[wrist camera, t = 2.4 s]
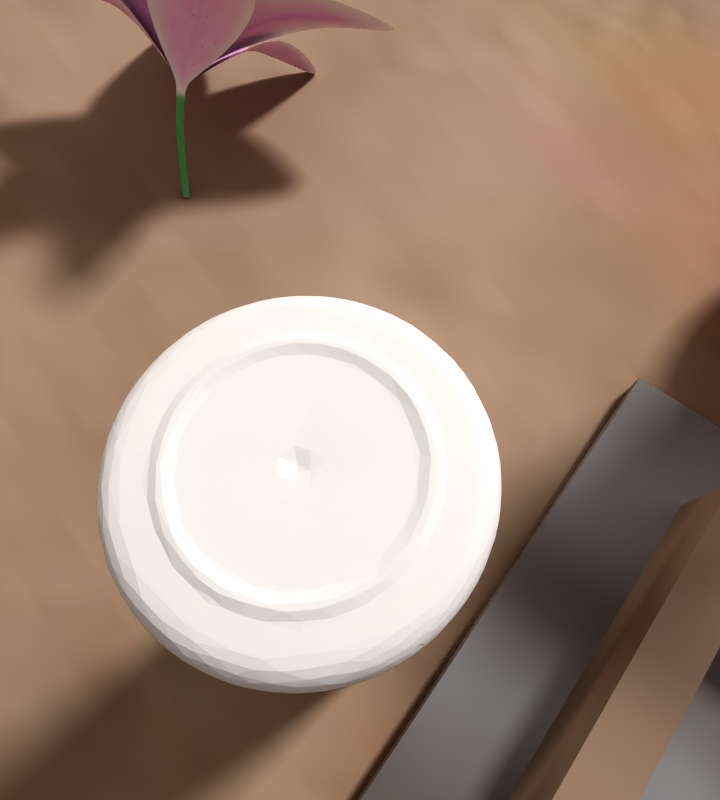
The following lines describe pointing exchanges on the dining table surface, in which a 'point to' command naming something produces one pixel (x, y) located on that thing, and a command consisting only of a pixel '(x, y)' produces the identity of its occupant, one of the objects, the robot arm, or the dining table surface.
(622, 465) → the socket holder
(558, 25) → the dining table surface
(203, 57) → the lily
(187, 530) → the sprinkles bottle
